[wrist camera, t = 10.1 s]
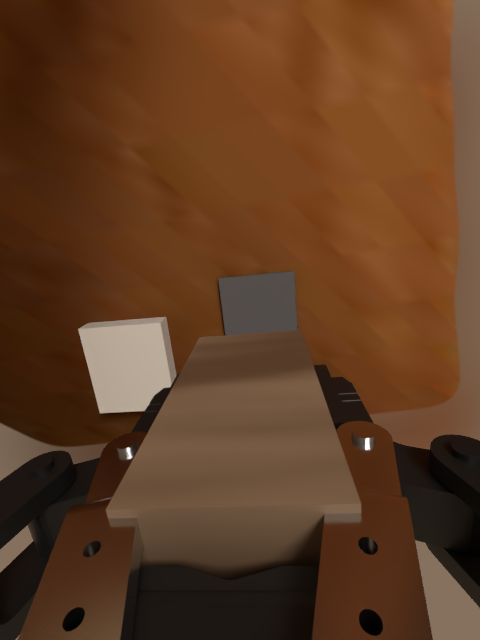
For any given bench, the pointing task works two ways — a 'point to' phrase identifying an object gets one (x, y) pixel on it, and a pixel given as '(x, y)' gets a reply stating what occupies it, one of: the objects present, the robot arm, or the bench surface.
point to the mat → (258, 303)
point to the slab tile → (128, 362)
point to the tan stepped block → (238, 462)
